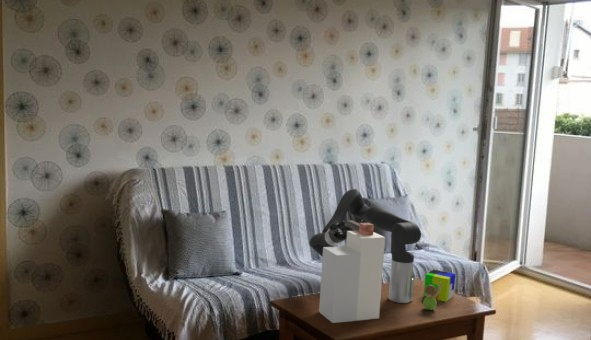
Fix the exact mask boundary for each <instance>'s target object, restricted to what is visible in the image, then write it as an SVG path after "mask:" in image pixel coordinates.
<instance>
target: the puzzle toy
mask: <svg viewBox="0 0 591 340" xmlns="http://www.w3.org/2000/svg"><path fill="white" fill-rule="evenodd" d="M440 282H441V288H440V290H439V293H438V295H437V296H436V297H433V298H435V300H436V299H437V300H438V301H440V300H441V302H447V301H449V300H450V299H452V298H453V297H454V295H455V282H456V273H453V272H448V271H443V270H438V269H432V270H430V271H429V272H427V273H426V274H425V275H424V286H423V287H424V289H423V297H424V296H425V294H426V292H425V287H426V286H427V285H433V286H434V287H435V288H436V290H437V286H438V285H440ZM426 297H427V296H426ZM426 297H425V298H426ZM437 300H436V301H437Z"/></svg>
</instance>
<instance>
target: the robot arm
mask: <svg viewBox="0 0 591 340" xmlns="http://www.w3.org/2000/svg"><path fill="white" fill-rule="evenodd" d="M364 200H365V199H364V198H363V196H362V193H361V192H360V191H359V190H358V189H357V188H352V189H349V190H347V191H345V193H344V194H343V195H342V196H341V199H340V201H339V203H338V204H337V206H336V208H335V211H334V212H333V215H332V216H331V218H330V219H329V221H328V222H327V223H326V225H325V226H324V228H323V229H322V230H321V232H320V233H316V234H314V235H312V236H311V238H310V239H309V246H310V248H311V249H313V251H315V253H317V254H318V255H320V257H321V258H323V247H336V246H337V245H339V244H340V243H342V242H343V241H345V240H347V231H355V230H353V229H351V228H349V227H347V226H346V222H345V221H346V217H347V213H349V214H350V215H351V216H354V217H356V218H359V219H360V220H359V221H358V222H357V223H359V224H360V223H370V224H373V225H374V228H376V229H377V230H381V231H385V232H389V233H390V252H391V253H390V254H391V261H390V262H391V263H390V276H389V286H388V287H389V288H388V289H389V290H388V300H390V301H391V302H394V303H398V304H408V303H410V302H413V300H414V299H413V298H414V289H415V288H414V287H415V279H414V277H413V274H414V261H415V255H414V254H413V253H412V252H411V251H410V252H409V251H407V250H406V249H407V248H406V247H407V246H408V245H414V244H417V243H418V242H419V241H420V240H421V238H422V232H421V229H420V227H419V225H418V224H416V223H415V222H412V221H410V220H407V219H404V218H402V217H400V216H398V215H396V214H395V213H393V212H390V211H389V210H387V209H385V208H384V207H382V206H380V205H372V206H368V204H366V202H365V201H364ZM406 245H407V246H406Z"/></svg>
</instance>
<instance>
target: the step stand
mask: <svg viewBox="0 0 591 340" xmlns="http://www.w3.org/2000/svg"><path fill="white" fill-rule="evenodd" d="M385 243H386V237H385V236H383V235H381V234H379V233H377V232H374V231H373V235H365V236H364V235H362V234H360V233H359V232H357V231H347V239H346V245H342V246H341V245H340V246H337V245H336V246H334V247H323V257H321V258H322V259H321V276H320V289H319V290H320V291H319V304H318V305H319V306H318V312H319V313H320V314H321V315H322V316H323V317H325V319H327V320H328V321H329V322H331V323H332V324H336V323H347V322H356V321H367V320H375V319H380V311H381V310H380V309H381V308H380V307H381V295H382V284H383V283H382V282H383V271H384V259H385V245H386V244H385Z"/></svg>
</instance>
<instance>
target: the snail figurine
mask: <svg viewBox="0 0 591 340" xmlns="http://www.w3.org/2000/svg"><path fill="white" fill-rule="evenodd" d="M440 288H441V282H440V285H438V286H437V290H436V288H435V287H434V286H433V285H427V286H426V287H425V292H426V294H425V296H427V297H424V299H423V301H422V302H423V303H422V305H423V307H424V308H425V310H427V311H433V310H435V309H436V308H437V305H438V304H437V303H438V301H437V300H436V299H435V298H433V297H436V296H437V295H438V293H439V290H440Z"/></svg>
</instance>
